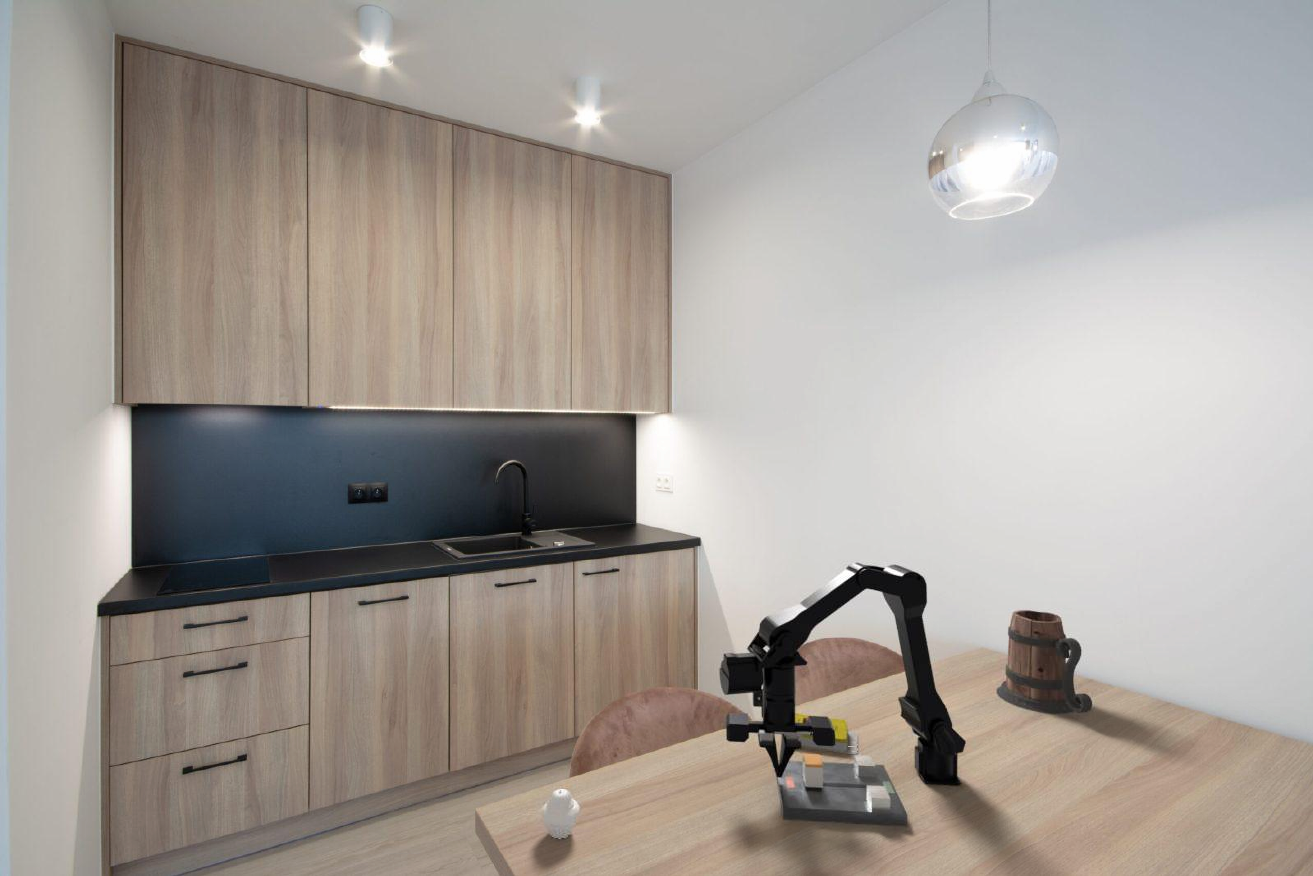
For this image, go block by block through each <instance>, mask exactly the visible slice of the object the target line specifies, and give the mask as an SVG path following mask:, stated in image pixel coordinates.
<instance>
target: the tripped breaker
mask: <svg viewBox="0 0 1313 876" xmlns="http://www.w3.org/2000/svg"><path fill="white" fill-rule="evenodd" d="M802 761H803V779H804V783H805V787H819V788H823V763H822V762H823V761H822V757H821V754H818V753H802Z"/></svg>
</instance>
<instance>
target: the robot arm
mask: <svg viewBox="0 0 1313 876" xmlns="http://www.w3.org/2000/svg"><path fill="white" fill-rule="evenodd" d="M865 590H871V591H876V592H880V593H882V595H883V599H884V600H885V602H886V603H887V605H888V607H889V609H890V610H891V613H892V614H893V616H894V619H895V620H894V621H895V625H896V631H897V636H898V640H899V641H898V642H899V646H900V652H901V657H902V664H903V668H904V672H905V673H904V674H905V678H906V682H907V683H906V684H907V690H906V693H905V695H904V696H898V699H897V700H898V702H899V705H900V717H901V718H902V719H903V720H905V722H906V724H908V726H909V727H911V729H912V732H913V734H915V735H916V736H918V737H917V745H915V746H914V768H915V770H916V772H917V773H918V775H919V776H920V778H921V779H922V781H923V782H924V783H925V784H931V785H932V784H936V785H949V786H950V785H951V786H953V785H954V786H961V785H962V781H961V780H960V778H959V776H958V761H959V760H958V754H961V753H963V752H964V750H965V746H966V743H967V741H966V740H965V739H964V737H962V736H961V735H960V734H959V733H958V732H957V731H956V730H955V729H954V728H953V722H952V719H951V716H950V714H949V711H948V708H947V706H946V704H945V703H944V701H943V700H942V698H941V696H940V695H939V693H938V690H937V689H936V684H935V678H934V674H933V672H934V671H933V667H932V662H931V656H930V650H929V646H928V641H927V640H928V639H927V635H926V634H927V633H926V630H925V629H926V628H925V624H924V617H923V614H924V611H925V609H926V606H927V604H928V585H927V581H926V579H925V577H924V576H922V574H920V573H918V572H916V571H914V570H911V569H909V568H907V567H904V566H900V565H897V564H891V565H888V566H886V567H882V566H877V565H872V564H871V565H868V564H862V563H860V562H853V563H851V564H848V565H847V567H846V569H845V570H843V571H842V572H841V573H839V574H838V575H836V576H835V577H833V578H832V579H831V580H830V581H828V582H827V583H825V584H824V585H823V586H821V587H820V588H819V589H817V590H815V591H814V592H813V593H812V594H809V596H808V597H806V598H805V599H803V600H802V601H800V602H799V603H798V604H795V605H792V606H790V607H786V608H782V609H779V610H777V611H775V612H773V613H771V614H769V615H767V616H765V617H764V618H763V619H762V620H761V621H760V623H759V629H758V631H757V633H756V635H755V636H754V637H753V638H752V640H751V642H750V643H749V644H748V646H747V648H746V649H747V651H748V652H744V653H743V652H742V653H741V652H740V653H733V652H726V653H724V654H723V660H722V661H721V663H720V667H719V670H718V671H719V683H720V686H721V690H722V693H723V694H724V695H725V696H728V695H741V694H743V695H744V694H750V693H751V694H752V705H753V707H757V708H760V707H761V718H762V720H749V715H748V713H746V712H745V713H744V712H743V713H742V712H728V713H727V715H726V717H725V718H726V719H725V724H726V725H725V728H726V729H725V731H726V735H725V736H726V741H728V742H730V743H745V742H746V741H748V739H750V734H757V737H758V746H759V747H760V748H763V749H765V750H766V752H767V755H768V756H769V758H770V760H771V763H772V767H773V768H774V769H773V770H774V772H775V777H776V776H777V777H780V778H781V777H782V775H783V773H784V771H785V769H786V766H787V764H788V762H789V761H791V760H790V759H792V756H793V755H794V753H795V752H796V750H801V749H802V748H803V747H802V745H801V741H800V738H801V735H812V740H813V742H814V743H815V744H816V745H817V746H834V745H835V730H834V728H833V725H832V722H831V720H830V719H829V718H830V717H828V716H823V715H822V716H819V715H817V716H816V715H811V716H808V723H798V722H795V714H796V667H798V666H799V667H800V666H807V665H808V661H807V660H806V659H805V658H804V657H803V656H802V655H801V653H800V652H799V651H798V650H799V649H800V648H801V647H802V646H803V645H804V644H805V643H806V642H807V641H808V639H809V637H810V636H811V633H812V631H813V630H814V629H815V628H816V627H817V625H819V624H820V623H822V622H823V621H824V620H826V619H828V617H830V616H831V615H832V614H834V613H835V612H837V611H838V610H839V609H841V608H843V606H845V605H846V604H848V603H849V602H850V601H852V600H853V599H854V598H856V597H857V596H859V595H860V594H861V593H863V591H865ZM765 647H767V648H769V649H768V650H767V651H766V650H765V649H764V648H765ZM776 735H781V737H780V738H781V739H780V741H781V742H780V751H779V756H778V748H777V741H776ZM778 760H779V763H778Z"/></svg>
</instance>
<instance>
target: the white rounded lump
mask: <svg viewBox="0 0 1313 876" xmlns="http://www.w3.org/2000/svg"><path fill="white" fill-rule="evenodd" d="M548 798H549V799H548V801H547V802H546V803H545V804H544V805H543V806H542V809H541V813H540V815H541V820H542V823H543V825H544V827H545V829H546V830H547V832H548V833H549V835H550V836H552V837H554V838H553V839H555V838H558V839H559V838H564V839H566V838H568V837H569V836H570V835H571V833H572V832H573V829H574V828H575V826H576V823H577V821H578V820H579V819H578V818H579V815H580V811H581V807H580V804H579V803H578V802H577V800H575V799H574V798H573V797H572V794H571V792H570V790H567V789H564V788H561V789H560V788H558V789H555V790H553V791H552V793H551V794H550V795H549V797H548ZM568 835H569V836H568ZM552 837H551V838H552ZM558 839H557V840H558ZM559 840H560V839H559Z"/></svg>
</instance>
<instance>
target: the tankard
mask: <svg viewBox="0 0 1313 876" xmlns="http://www.w3.org/2000/svg"><path fill="white" fill-rule="evenodd" d="M1062 621H1063V620H1062V618H1061V616H1059V615H1058V614H1055V613H1052V612H1048V611H1047V612H1046V611H1037V610H1036V611H1035V610H1032V609H1031V610H1030V609H1029V610H1028V609H1024V610H1015V611H1014V612H1012V615H1011V619H1010V624H1009V626H1008V627H1007V635H1008V647H1007V648H1008V649H1007V664H1006V665H1005V675H1006V680H1005V681H1003V682H1002V683H1001V685H1000V686H998V687H997V688H996V691H997V692H996V691H995V693H996V695H997V696H998V697H999V698H1001V700H1003V701H1004V702H1006V703H1008V704H1010V705H1012V706H1015V707H1017V708H1020V709H1023V710H1029V711H1032V712H1036V713H1041V714H1050V715H1051V714H1053V715H1065V714H1066V715H1067V714H1071V713H1074V712H1075V713H1078V714H1081V713H1088V712H1090V711H1091V710H1092V708H1093V700H1092V698H1091V697H1090V695H1088V694H1087V693H1076V691H1075V690H1076V689H1075V684H1074V682H1075V681H1074V678H1075V677H1074V674H1075V670H1076V667H1077V665H1078V664H1079V662H1080V660H1081V657H1082V647H1081V643H1079V641H1078V640H1077V639H1076V638H1073V637H1067V635H1066V633H1065V630H1064V627H1063V626H1064V625H1063V622H1062Z"/></svg>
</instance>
